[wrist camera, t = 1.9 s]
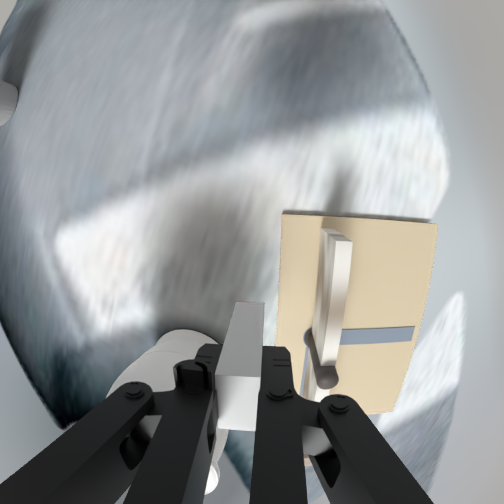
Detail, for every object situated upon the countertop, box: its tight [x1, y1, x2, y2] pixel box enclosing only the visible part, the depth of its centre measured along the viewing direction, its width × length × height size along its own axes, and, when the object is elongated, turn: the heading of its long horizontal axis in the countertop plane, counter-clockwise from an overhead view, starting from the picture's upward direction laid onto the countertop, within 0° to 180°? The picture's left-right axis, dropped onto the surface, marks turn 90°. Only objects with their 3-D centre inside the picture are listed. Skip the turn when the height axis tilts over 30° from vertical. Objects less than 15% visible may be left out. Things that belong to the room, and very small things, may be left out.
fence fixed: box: [302, 329, 330, 466], centre depth 26 cm, size 14×2×7 cm, turn 179°
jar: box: [106, 329, 229, 495], centre depth 22 cm, size 11×10×15 cm
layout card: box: [276, 214, 438, 415], centre depth 28 cm, size 24×16×1 cm, turn 179°
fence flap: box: [308, 228, 353, 390], centre depth 23 cm, size 12×2×7 cm, turn 179°
